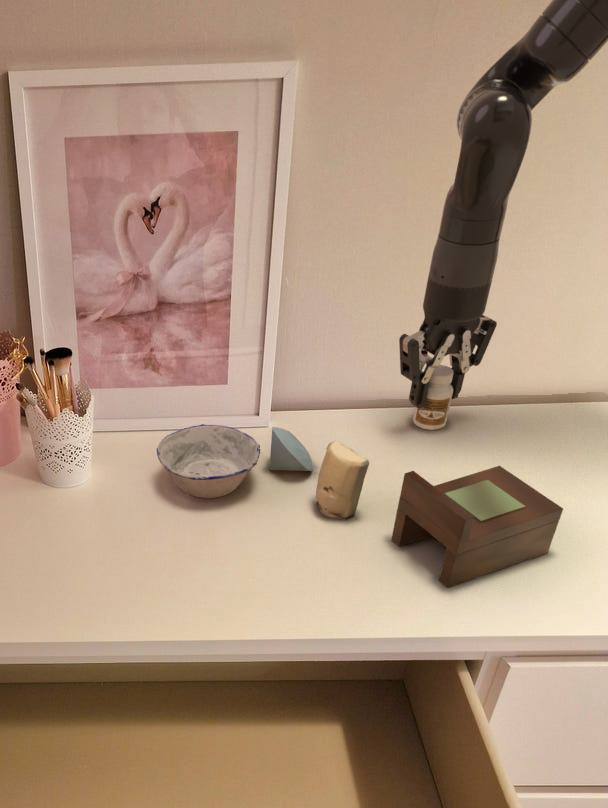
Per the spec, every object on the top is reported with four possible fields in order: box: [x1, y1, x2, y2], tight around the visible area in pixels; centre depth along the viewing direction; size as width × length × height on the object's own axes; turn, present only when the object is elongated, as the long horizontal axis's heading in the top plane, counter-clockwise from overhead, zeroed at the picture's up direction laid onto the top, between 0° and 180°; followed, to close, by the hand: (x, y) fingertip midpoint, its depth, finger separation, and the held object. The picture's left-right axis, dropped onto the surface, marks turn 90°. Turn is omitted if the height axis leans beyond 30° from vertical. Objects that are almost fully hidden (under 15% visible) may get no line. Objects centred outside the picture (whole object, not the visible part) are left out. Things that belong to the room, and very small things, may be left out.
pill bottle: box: [412, 364, 453, 431], centre depth 118 cm, size 4×4×8 cm
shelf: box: [390, 465, 564, 589], centre depth 97 cm, size 14×10×9 cm
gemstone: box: [269, 426, 313, 472], centre depth 112 cm, size 8×8×5 cm
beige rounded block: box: [315, 441, 370, 520], centre depth 103 cm, size 6×5×8 cm
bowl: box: [156, 423, 261, 499], centre depth 110 cm, size 13×13×5 cm
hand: (433, 400), depth 118 cm, fingers open, 5 cm apart
